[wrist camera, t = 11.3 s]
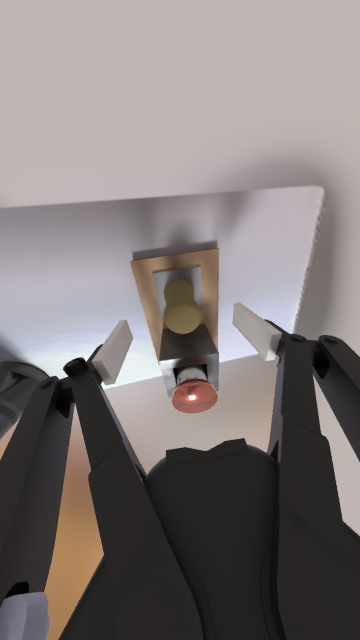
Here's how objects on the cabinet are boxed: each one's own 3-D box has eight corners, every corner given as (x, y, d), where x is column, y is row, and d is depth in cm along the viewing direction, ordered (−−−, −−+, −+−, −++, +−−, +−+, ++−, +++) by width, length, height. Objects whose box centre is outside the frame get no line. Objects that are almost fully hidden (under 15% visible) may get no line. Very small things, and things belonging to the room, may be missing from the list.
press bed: (159, 359, 38) (158, 366, 35) (132, 260, 25) (129, 261, 23) (215, 351, 37) (218, 358, 35) (215, 248, 25) (219, 248, 23)
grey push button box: (169, 360, 35) (168, 397, 26) (162, 329, 31) (158, 361, 22) (206, 355, 35) (218, 390, 26) (205, 323, 30) (218, 353, 22)
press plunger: (174, 371, 30) (175, 415, 22) (169, 347, 27) (168, 389, 19) (204, 367, 30) (217, 410, 22) (203, 342, 27) (217, 382, 19)
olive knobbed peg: (191, 275, 25) (204, 294, 15) (195, 304, 28) (209, 335, 18) (159, 282, 25) (153, 305, 15) (167, 310, 28) (166, 344, 18)
